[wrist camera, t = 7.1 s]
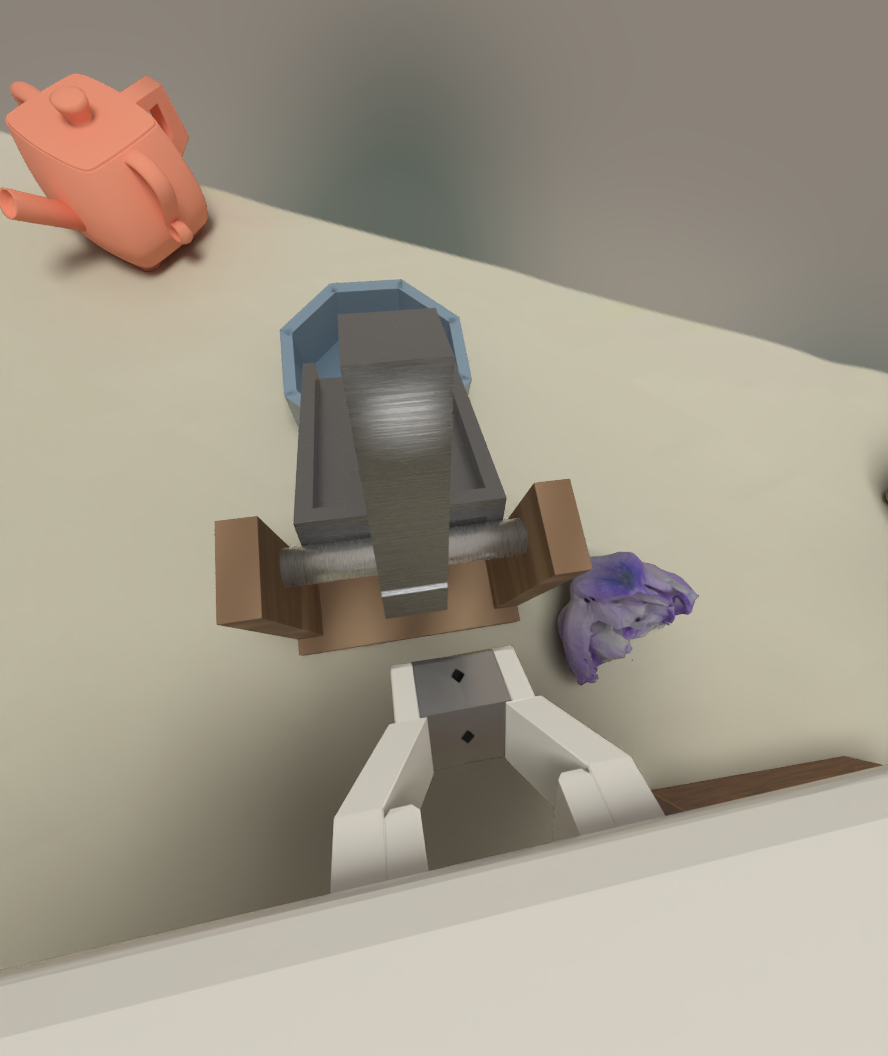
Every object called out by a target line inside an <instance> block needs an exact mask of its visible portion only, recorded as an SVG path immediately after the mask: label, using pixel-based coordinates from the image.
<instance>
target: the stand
mask: <svg viewBox="0 0 888 1056" xmlns="http://www.w3.org/2000/svg"><path fill="white" fill-rule="evenodd" d="M515 518H521V519H522V520H523V521H524V523H525V526H526V530H527V535H528V550H527V553H526V554H524V555H517V556H510V557H503V558H496V559H489V560H482V561H474V562H467V563H460V564H453V565H448V608H447V610H444V611H437V612H431V613H424V614H417V615H411V616H404V617H398V618H391V619H386V617H385V612H384V607H383V601H382V594H381V589H380V583H379V578H378V575H374V576H367V577H360V578H353V579H346V580H339V581H332V582H324V583H317V584H310V585H303V586H296V587H289V588H286V587H285V585H284V583H283V581H282V577H281V572H280V551H281V549H283V548H290V547H289V546H288V545H287V544H286V543H285V542H284V541H283V540H282V539H280V538H279V537H278V536H277V535H276V534H275V533H274V532H273V531H272V530H271V529H270V528H269V527H268V526H267V525H266V524H265V523H264V522H263V521H262V520H261V519H260V518H259V517H257V516H255V517H246V518H238V519H230V520H221V521H215V565H216V619H217V625H221V626H227V627H232V628H238V629H243V630H249V631H255V632H260V633H266V634H271V635H277V636H282V637H288V638H293V639H298V644H299V655H309V654H316V653H322V652H328V651H335V650H341V649H347V648H354V647H360V646H366V645H372V644H379V643H385V642H391V641H398V640H404V639H410V638H416V637H423V636H429V635H435V634H442V633H448V632H454V631H460V630H467V629H473V628H479V627H486V626H492V625H498V624H504V623H511V622H516V621H519V620H520V617H519V612H518V607H517V605H519V604H521V603H523V602H526V601H528V600H530V599H532V598H534V597H536V596H538V595H540V594H542V593H544V592H546V591H548V590H551V589H553V588H555V587H557V586H559V585H561V584H563V583H565V582H567V581H569V580H571V579H573V578H576V577H578V576H580V575H582V574H584V573H586V572H588V571H590V570H592V565H591V561H590V557H589V553H588V549H587V545H586V541H585V537H584V533H583V529H582V525H581V521H580V517H579V513H578V509H577V505H576V501H575V497H574V493H573V489H572V486H571V482H570V479H563V480H555V481H546V482H538V483H534V484H533V485H532V487H531V488H530V489H529V491H528V492H527V493H526V495H525V496H524V498H523V499H522V500H521V502H520V503H519V504H518V506H517V507H516V509H515V510H514V511H513V513H512V514H511V515H510V517H509V518H508V519H515Z"/></svg>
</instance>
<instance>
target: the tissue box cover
mask: <svg viewBox="0 0 888 1056" xmlns="http://www.w3.org/2000/svg"><path fill="white" fill-rule="evenodd" d="M878 766H883V765H880V764H876V763H872V762H867V761H863V760H858V759H854V758H849V757H845V756H843V757H837V758H832V759H826V760H820V761H815V762H809V763H803V764H798V765H792V766H786V767H781V768H775V769H769V770H764V771H758V772H752V773H747V774H741V775H735V776H729V777H724V778H718V779H712V780H707V781H701V782H695V783H690V784H684V785H678V786H673V787H667V788H661V789H656V790H651V792H652V794H653V795H654V797H655V799H656V800H657V802H658V804H659V806H660V807H661V809H662V811H663V812H664V814H665V816H668V815H672V814H676V813H680V812H685V811H689V810H693V809H698V808H702V807H706V806H711V805H715V804H719V803H724V802H728V801H732V800H737V799H741V798H745V797H750V796H754V795H758V794H762V793H767V792H771V791H775V790H780V789H784V788H788V787H793V786H797V785H801V784H805V783H810V782H814V781H818V780H823V779H827V778H831V777H835V776H840V775H844V774H848V773H853V772H857V771H861V770H865V769H870V768H874V767H878Z"/></svg>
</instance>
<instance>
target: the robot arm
mask: <svg viewBox="0 0 888 1056" xmlns="http://www.w3.org/2000/svg"><path fill="white" fill-rule="evenodd" d="M412 667H413V668H412ZM390 672H391V684H392V695H393V706H394V718H395V723H393V724H389V725H388V726H387V728H386V730H385V732H384V733H383V735H382V737H381V738H380V740H379V742H378V744H377V745H376V747H375V749H374V750H373V752H372V754H371V756H370V757H369V759H368V761H367V762H366V764H365V766H364V768H363V769H362V771H361V773H360V775H359V776H358V778H357V780H356V781H355V783H354V785H353V787H352V788H351V790H350V792H349V793H348V795H347V797H346V799H345V800H344V802H343V804H342V805H341V807H340V809H339V811H338V812H337V814H336V816H335V818H334V825H333V845H332V866H331V886H330V894H327V895H322V896H318V897H314V898H309V899H305V900H301V901H296V902H292V903H288V904H283V905H279V906H275V907H271V908H266V909H262V910H258V911H253V912H249V913H245V914H240V915H236V916H232V917H227V918H223V919H219V920H214V921H210V922H206V923H201V924H197V925H193V926H189V927H184V928H180V929H176V930H171V931H167V932H163V933H158V934H154V935H150V936H145V937H141V938H137V939H132V940H128V941H124V942H120V943H115V944H111V945H107V946H102V947H98V948H94V949H89V950H85V951H81V952H76V953H72V954H68V955H63V956H59V957H55V958H50V959H46V960H42V961H38V962H33V963H29V964H25V965H20V966H16V967H12V968H7V969H3V970H0V1056H888V764H887V765H883V766H878V767H874V768H870V769H865V770H861V771H857V772H853V773H848V774H844V775H840V776H835V777H831V778H827V779H823V780H818V781H814V782H810V783H805V784H801V785H797V786H793V787H788V788H784V789H780V790H775V791H771V792H767V793H762V794H758V795H754V796H750V797H745V798H741V799H737V800H732V801H728V802H724V803H719V804H715V805H711V806H706V807H702V808H698V809H693V810H689V811H685V812H680V813H676V814H672V815H668V816H665V814H664V812H663V811H662V809H661V807H660V806H659V804H658V802H657V800H656V799H655V797H654V795H653V794H652V792H651V790H650V789H649V787H648V785H647V784H646V782H645V780H644V778H643V777H642V775H641V773H640V772H639V770H638V768H637V767H636V765H635V763H634V761H633V760H632V758H631V757H630V756H629V755H628V754H626V753H625V752H623V751H622V750H620V749H619V748H617V747H616V746H614V745H613V744H611V743H610V742H609V741H607V740H606V739H604V738H603V737H601V736H600V735H598V734H597V733H595V732H594V731H592V730H591V729H590V728H588V727H587V726H585V725H584V724H582V723H581V722H579V721H578V720H576V719H575V718H573V717H572V716H571V715H569V714H568V713H566V712H565V711H563V710H562V709H560V708H559V707H557V706H556V705H555V704H553V703H552V702H550V701H549V700H547V699H546V698H544V697H543V696H536V697H535V694H534V692H533V690H532V688H531V685H530V683H529V681H528V679H527V677H526V674H525V672H524V670H523V668H522V665H521V663H520V661H519V659H518V657H517V654H516V652H515V650H514V648H513V647H512V646H511V645H508V646H503V647H497V648H492V649H487V650H481V651H476V652H470V653H465V654H459V655H454V656H450V657H443V658H436V659H430V660H423V661H416V662H412V663H406V664H399V665H392V666H391V670H390ZM499 757H505V759H506V760H507V761H508V762H509V763H510V764H511V765H512V766H513V767H514V768H515V769H516V770H517V771H518V772H519V773H520V774H521V775H522V776H523V777H524V778H525V779H526V780H527V781H528V782H529V783H530V784H531V785H532V786H533V787H534V788H535V789H536V790H537V791H538V792H539V793H540V794H541V795H542V796H543V797H544V798H545V799H546V800H547V801H548V802H549V803H550V804H551V805H552V806H553V807H554V808H555V815H554V825H553V834H552V842H551V843H547V844H542V845H538V846H534V847H529V848H525V849H521V850H516V851H512V852H508V853H503V854H499V855H495V856H490V857H486V858H482V859H477V860H473V861H469V862H464V863H460V864H456V865H451V866H447V867H443V868H439V869H434V870H430V871H429V867H428V860H427V853H426V847H425V840H424V833H423V826H422V819H421V813H420V809H421V807H422V804H423V801H424V799H425V796H426V793H427V791H428V788H429V785H430V782H431V780H432V777H433V774H434V771H436V770H440V769H444V768H449V767H453V766H457V765H461V764H466V763H470V762H476V761H482V760H487V759H493V758H499Z"/></svg>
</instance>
